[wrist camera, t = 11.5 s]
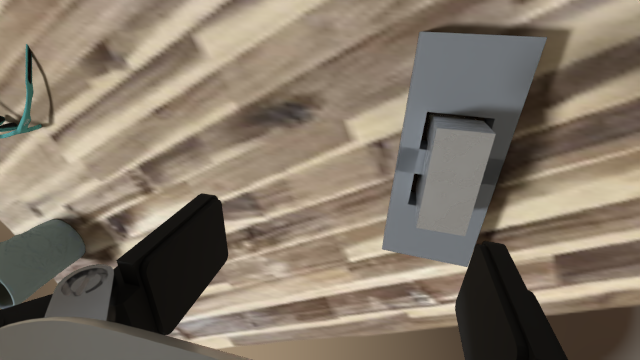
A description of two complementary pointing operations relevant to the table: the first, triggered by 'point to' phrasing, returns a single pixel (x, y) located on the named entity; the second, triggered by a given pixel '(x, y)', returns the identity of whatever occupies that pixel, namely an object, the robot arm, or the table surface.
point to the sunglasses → (26, 115)
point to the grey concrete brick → (452, 172)
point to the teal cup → (36, 259)
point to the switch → (459, 99)
